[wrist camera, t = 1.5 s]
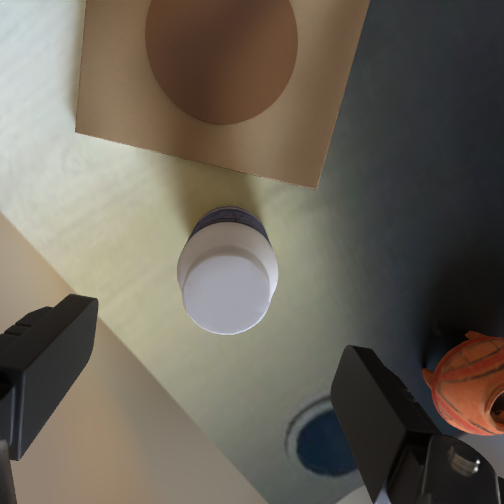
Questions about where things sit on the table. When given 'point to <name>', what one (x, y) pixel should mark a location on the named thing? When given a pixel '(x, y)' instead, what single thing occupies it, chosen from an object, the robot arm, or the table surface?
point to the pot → (471, 385)
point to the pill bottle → (227, 271)
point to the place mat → (220, 80)
